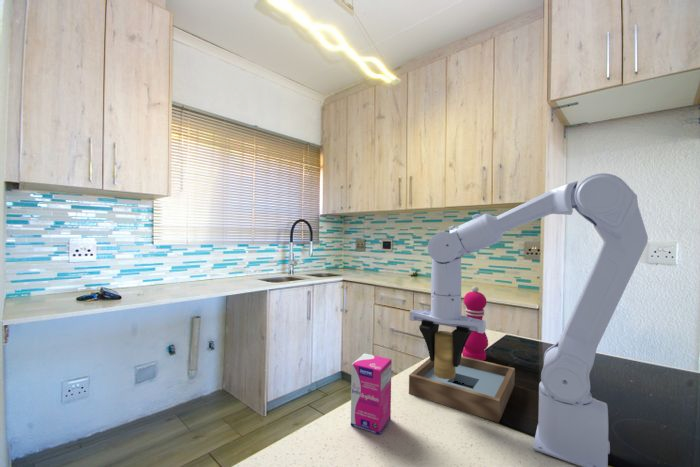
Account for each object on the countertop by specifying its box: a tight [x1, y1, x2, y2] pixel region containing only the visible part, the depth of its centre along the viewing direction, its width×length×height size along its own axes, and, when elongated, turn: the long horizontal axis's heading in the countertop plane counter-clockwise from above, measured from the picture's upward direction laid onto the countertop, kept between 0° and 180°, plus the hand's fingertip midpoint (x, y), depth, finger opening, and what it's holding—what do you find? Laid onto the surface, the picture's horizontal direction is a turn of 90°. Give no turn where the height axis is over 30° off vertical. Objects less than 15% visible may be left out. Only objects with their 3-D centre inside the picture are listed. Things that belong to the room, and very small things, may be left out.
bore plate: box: [423, 365, 505, 397], centre depth 72 cm, size 16×16×2 cm
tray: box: [408, 355, 516, 423], centre depth 72 cm, size 18×18×4 cm
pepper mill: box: [462, 285, 489, 361], centre depth 91 cm, size 7×7×20 cm
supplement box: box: [350, 353, 393, 435], centre depth 59 cm, size 6×6×12 cm
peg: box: [434, 330, 455, 379], centre depth 64 cm, size 4×4×8 cm
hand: (444, 362), depth 64 cm, fingers closed on peg, 4 cm apart
